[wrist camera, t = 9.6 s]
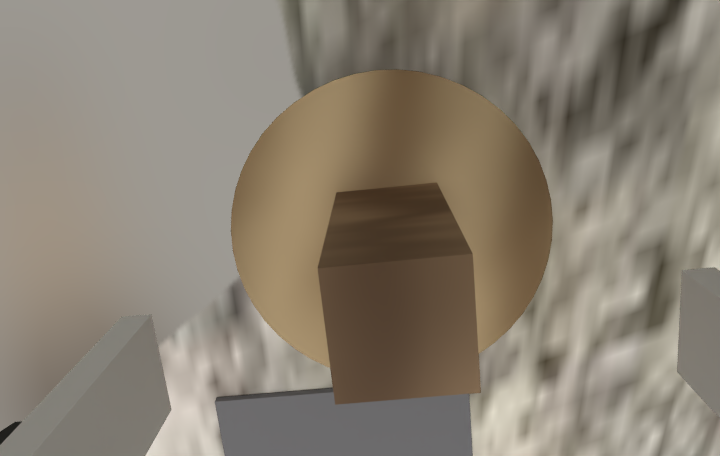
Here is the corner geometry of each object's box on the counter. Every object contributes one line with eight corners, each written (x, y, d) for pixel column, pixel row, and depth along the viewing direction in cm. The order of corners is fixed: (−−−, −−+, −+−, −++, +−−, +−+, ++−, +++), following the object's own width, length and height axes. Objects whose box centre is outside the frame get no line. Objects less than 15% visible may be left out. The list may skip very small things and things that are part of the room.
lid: (542, 52, 24) (656, 52, 14) (549, 354, 27) (644, 517, 18) (212, 87, 25) (110, 110, 15) (260, 379, 28) (202, 549, 18)
